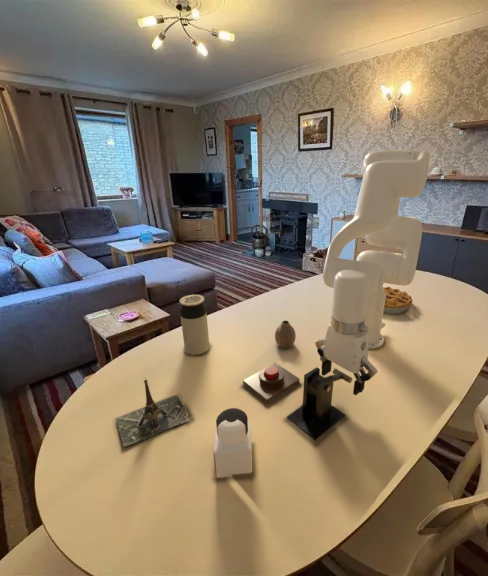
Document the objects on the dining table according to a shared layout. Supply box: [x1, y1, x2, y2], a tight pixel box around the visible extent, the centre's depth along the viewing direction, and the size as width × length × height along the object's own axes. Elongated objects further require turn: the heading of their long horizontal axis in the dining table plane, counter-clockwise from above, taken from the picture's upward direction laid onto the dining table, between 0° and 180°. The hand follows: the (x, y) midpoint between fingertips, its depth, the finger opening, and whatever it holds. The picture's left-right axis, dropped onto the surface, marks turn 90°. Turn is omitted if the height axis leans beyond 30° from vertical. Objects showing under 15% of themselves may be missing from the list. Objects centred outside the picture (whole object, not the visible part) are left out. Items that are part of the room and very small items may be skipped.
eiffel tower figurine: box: [116, 378, 191, 447], centre depth 71 cm, size 15×10×13 cm
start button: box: [264, 365, 278, 379], centre depth 83 cm, size 4×4×2 cm
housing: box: [242, 362, 301, 404], centre depth 84 cm, size 12×10×4 cm
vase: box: [274, 320, 297, 349], centre depth 102 cm, size 7×7×9 cm
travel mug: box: [178, 294, 210, 356], centre depth 98 cm, size 8×8×18 cm
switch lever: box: [310, 368, 353, 390], centre depth 73 cm, size 12×5×2 cm, turn 133°
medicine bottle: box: [213, 407, 253, 479], centre depth 61 cm, size 7×7×12 cm
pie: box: [383, 286, 413, 315], centre depth 132 cm, size 22×22×5 cm
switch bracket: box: [286, 366, 346, 442], centre depth 71 cm, size 11×9×13 cm
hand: (341, 382), depth 78 cm, fingers open, 9 cm apart
